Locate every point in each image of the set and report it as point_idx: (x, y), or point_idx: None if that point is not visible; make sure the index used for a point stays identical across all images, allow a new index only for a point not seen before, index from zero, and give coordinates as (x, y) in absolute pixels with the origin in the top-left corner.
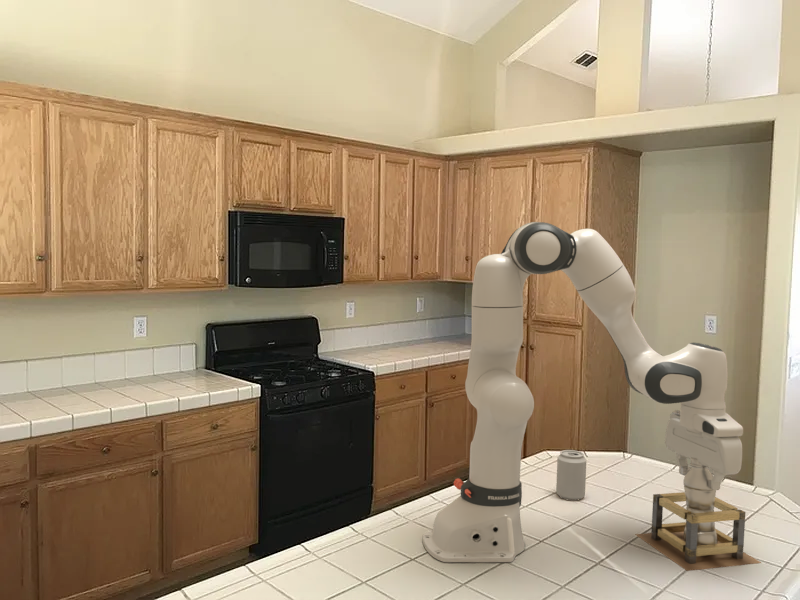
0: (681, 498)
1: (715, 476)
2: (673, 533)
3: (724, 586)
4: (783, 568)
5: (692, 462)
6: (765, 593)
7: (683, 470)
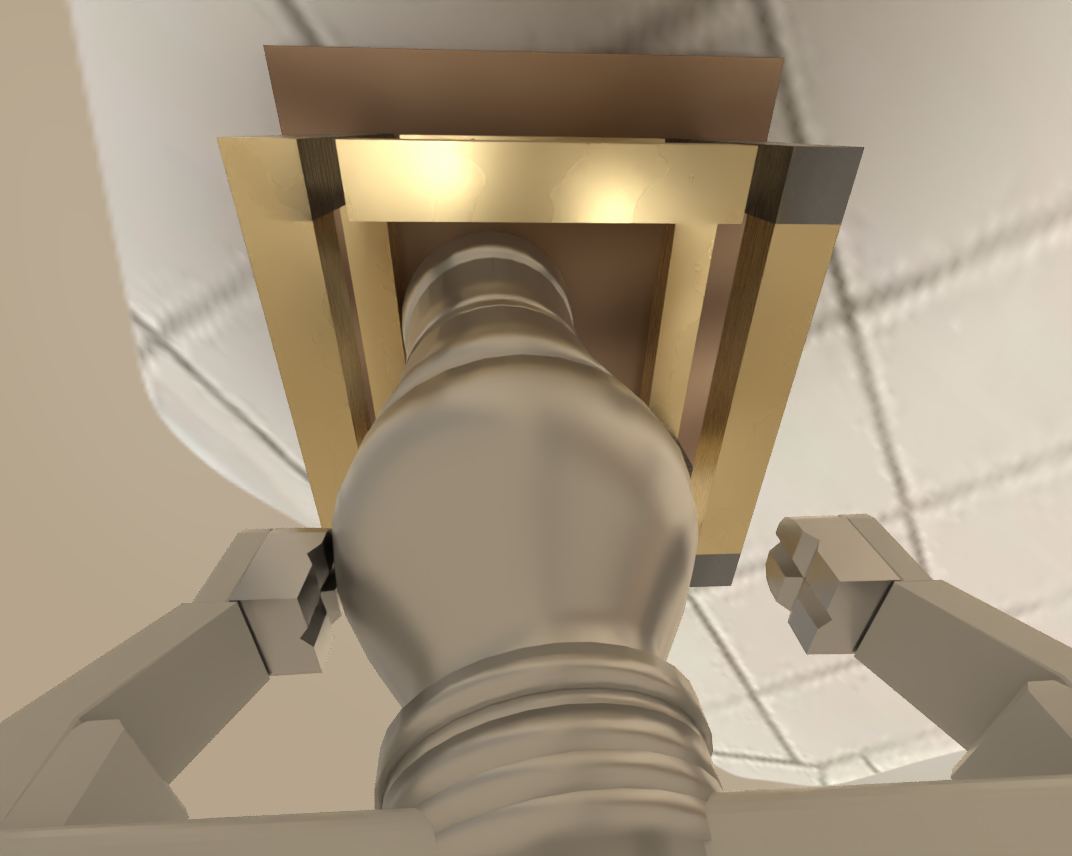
0: (719, 397)
1: (58, 700)
2: (701, 310)
3: (178, 194)
4: None
5: (576, 734)
6: (134, 336)
7: (821, 557)
